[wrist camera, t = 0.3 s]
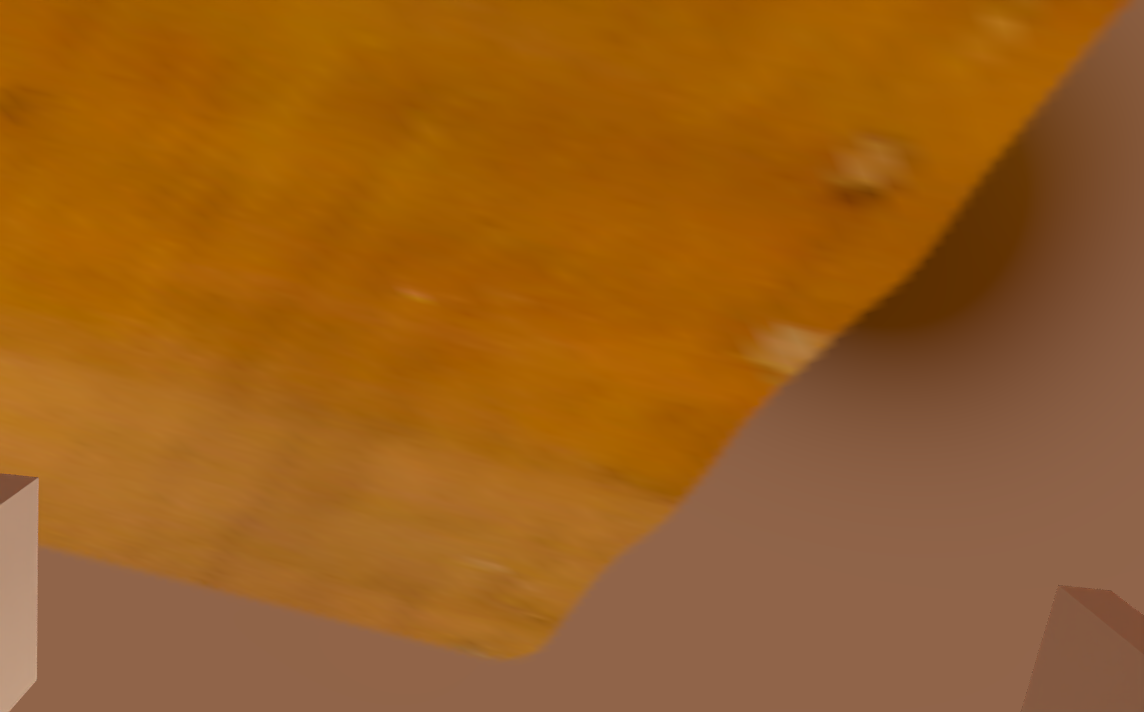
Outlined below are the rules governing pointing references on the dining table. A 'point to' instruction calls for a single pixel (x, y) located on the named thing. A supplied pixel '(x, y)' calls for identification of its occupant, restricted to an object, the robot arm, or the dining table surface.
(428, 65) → the dining table surface
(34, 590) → the robot arm
